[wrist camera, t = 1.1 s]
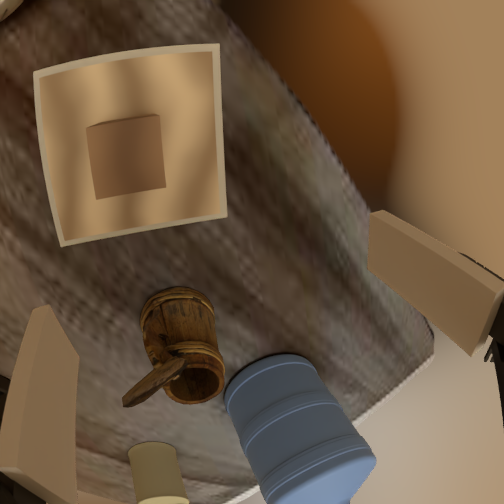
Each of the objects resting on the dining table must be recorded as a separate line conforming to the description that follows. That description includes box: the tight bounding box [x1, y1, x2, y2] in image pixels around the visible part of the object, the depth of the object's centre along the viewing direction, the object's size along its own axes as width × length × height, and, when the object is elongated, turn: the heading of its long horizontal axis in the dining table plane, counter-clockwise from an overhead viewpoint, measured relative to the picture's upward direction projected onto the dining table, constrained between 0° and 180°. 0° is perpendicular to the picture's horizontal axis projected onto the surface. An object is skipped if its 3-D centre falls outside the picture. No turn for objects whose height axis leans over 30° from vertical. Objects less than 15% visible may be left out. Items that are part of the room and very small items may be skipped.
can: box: [128, 442, 189, 504], centre depth 44 cm, size 9×9×12 cm
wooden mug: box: [122, 287, 225, 408], centre depth 29 cm, size 9×14×18 cm, turn 30°
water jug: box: [224, 354, 376, 504], centre depth 38 cm, size 16×16×28 cm
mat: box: [33, 44, 227, 247], centre depth 27 cm, size 18×18×1 cm
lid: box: [39, 51, 220, 241], centre depth 23 cm, size 16×16×9 cm
